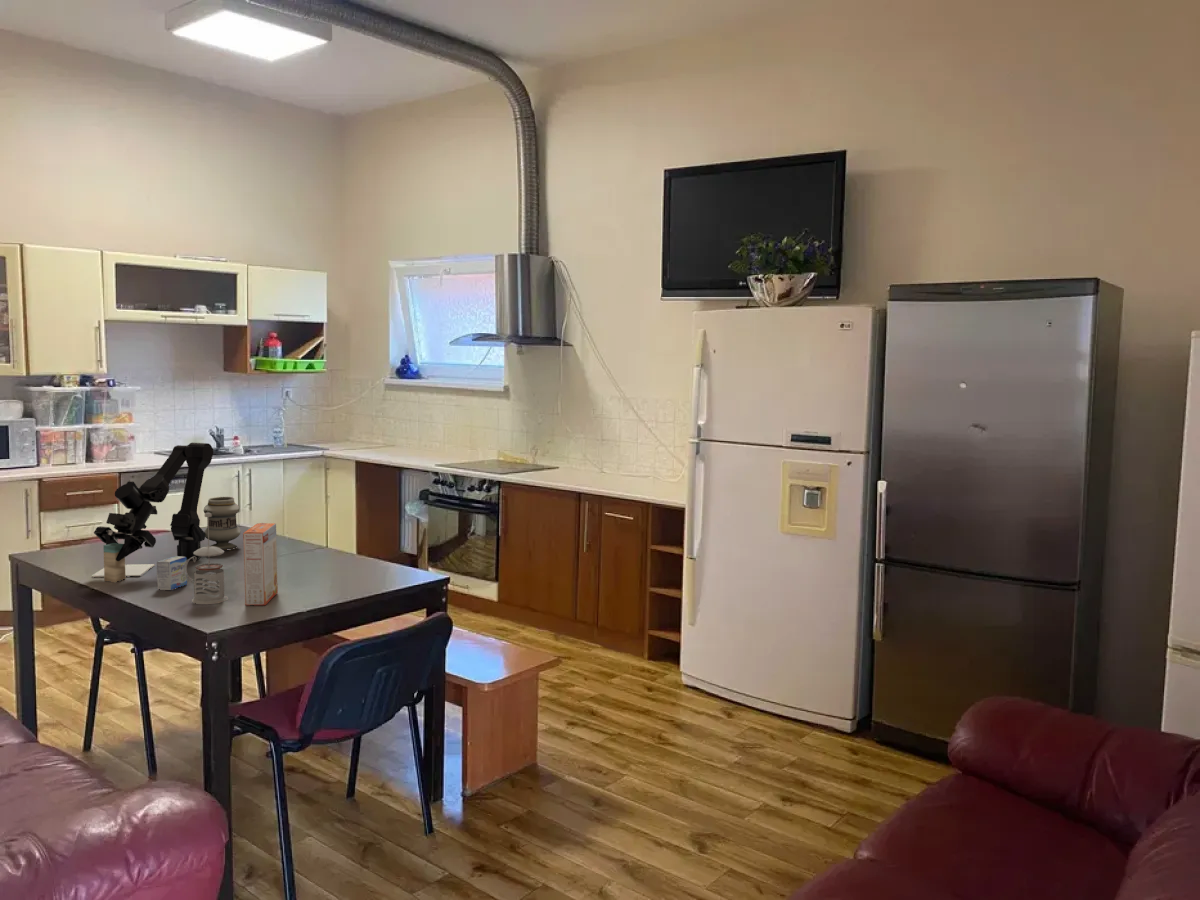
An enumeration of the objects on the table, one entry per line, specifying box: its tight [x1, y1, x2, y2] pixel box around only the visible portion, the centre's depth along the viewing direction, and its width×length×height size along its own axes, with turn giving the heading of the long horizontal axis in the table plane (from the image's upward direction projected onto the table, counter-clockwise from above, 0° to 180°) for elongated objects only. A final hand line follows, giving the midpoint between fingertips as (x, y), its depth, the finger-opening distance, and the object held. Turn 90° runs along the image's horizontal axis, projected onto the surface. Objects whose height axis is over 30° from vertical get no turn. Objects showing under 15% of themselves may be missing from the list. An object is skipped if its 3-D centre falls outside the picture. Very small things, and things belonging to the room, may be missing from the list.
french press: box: [184, 512, 229, 605], centre depth 264 cm, size 10×12×25 cm
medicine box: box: [156, 555, 188, 591], centre depth 278 cm, size 8×4×9 cm, turn 168°
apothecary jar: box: [203, 496, 242, 550], centre depth 333 cm, size 12×12×18 cm
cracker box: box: [242, 522, 279, 607], centre depth 266 cm, size 14×6×21 cm, turn 5°
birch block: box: [103, 542, 126, 583], centre depth 284 cm, size 4×4×11 cm
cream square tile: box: [91, 563, 156, 579], centre depth 296 cm, size 14×15×1 cm
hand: (110, 559), depth 283 cm, fingers closed on birch block, 4 cm apart
